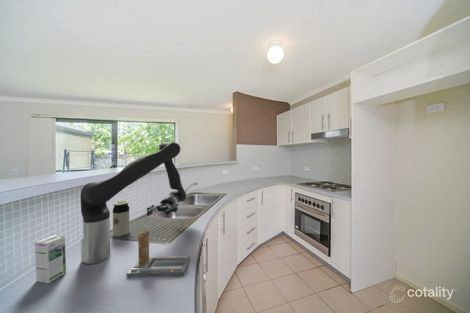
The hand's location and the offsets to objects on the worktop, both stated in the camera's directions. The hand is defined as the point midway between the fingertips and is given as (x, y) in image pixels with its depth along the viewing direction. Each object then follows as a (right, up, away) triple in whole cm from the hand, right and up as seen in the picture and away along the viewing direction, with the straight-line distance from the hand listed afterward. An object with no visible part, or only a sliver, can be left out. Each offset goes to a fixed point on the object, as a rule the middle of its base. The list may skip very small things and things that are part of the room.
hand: (157, 213), depth 84 cm
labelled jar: (-29, -18, +18) cm, 38 cm away
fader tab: (0, -16, -13) cm, 21 cm away
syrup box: (-31, -18, -18) cm, 41 cm away
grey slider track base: (+7, -18, -13) cm, 23 cm away
